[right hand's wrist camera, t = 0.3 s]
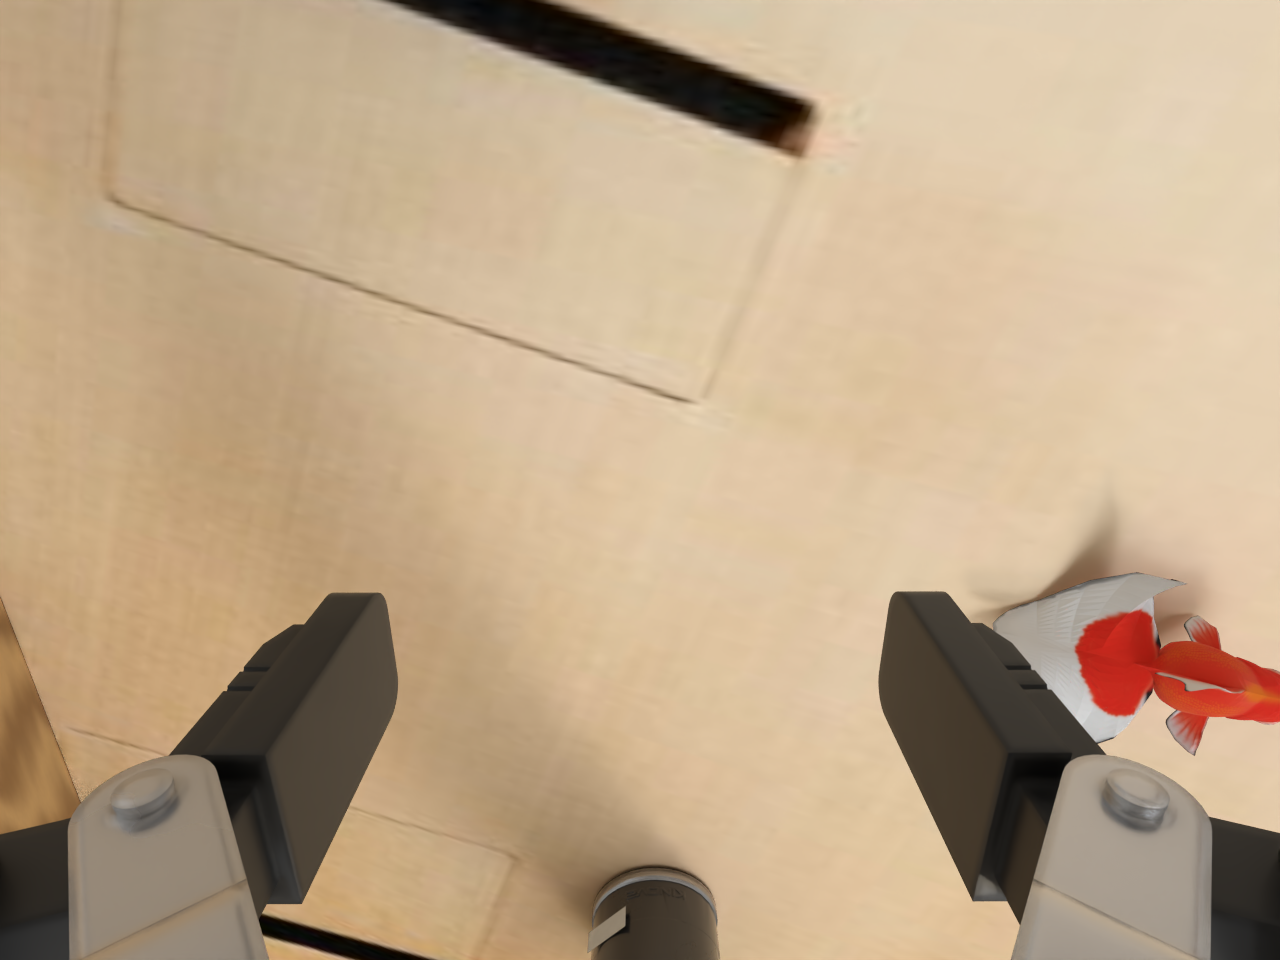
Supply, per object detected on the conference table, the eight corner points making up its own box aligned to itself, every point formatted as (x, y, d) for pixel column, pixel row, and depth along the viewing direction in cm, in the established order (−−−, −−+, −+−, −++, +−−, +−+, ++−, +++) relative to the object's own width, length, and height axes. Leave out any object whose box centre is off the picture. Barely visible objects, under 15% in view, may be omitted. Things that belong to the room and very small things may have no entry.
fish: (1183, 806, 44) (1287, 869, 35) (946, 666, 48) (980, 689, 39) (1270, 657, 44) (1399, 679, 35) (1025, 530, 48) (1079, 519, 39)
